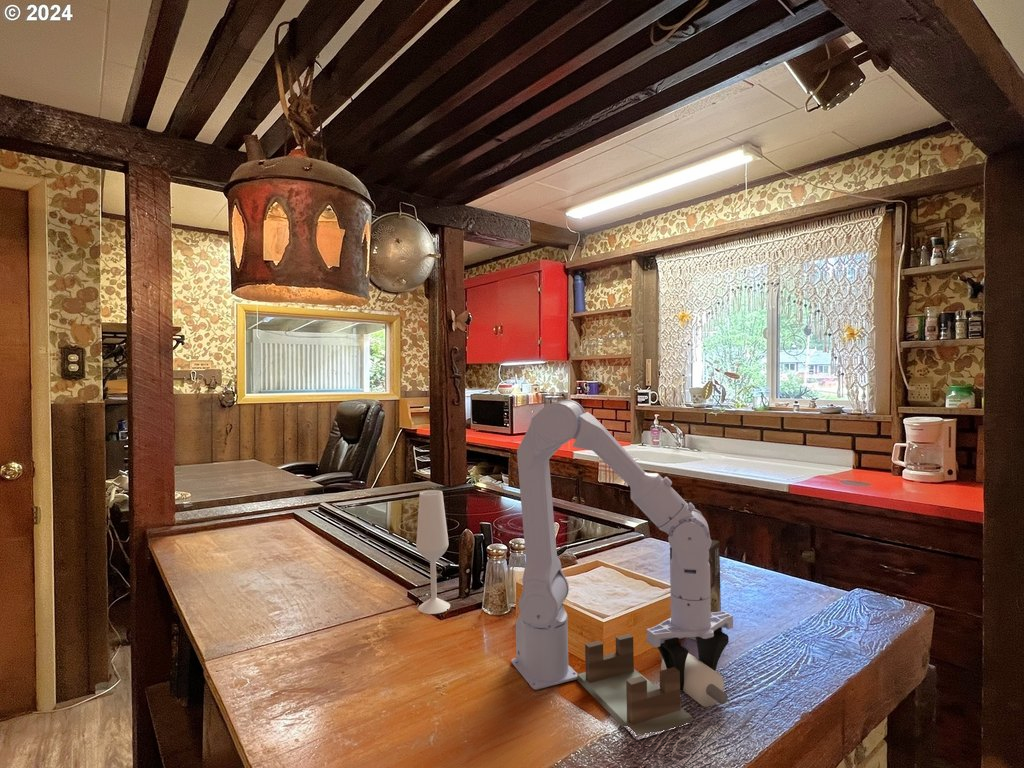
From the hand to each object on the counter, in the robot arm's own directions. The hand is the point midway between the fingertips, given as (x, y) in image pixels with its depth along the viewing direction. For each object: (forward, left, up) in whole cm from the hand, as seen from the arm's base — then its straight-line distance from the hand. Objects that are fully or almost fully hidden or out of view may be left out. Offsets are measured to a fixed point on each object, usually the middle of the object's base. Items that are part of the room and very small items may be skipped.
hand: (691, 682), depth 85 cm
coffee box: (-16, +14, -2) cm, 22 cm away
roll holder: (-2, -10, -1) cm, 10 cm away
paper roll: (0, 0, +1) cm, 1 cm away
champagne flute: (-47, -28, -2) cm, 54 cm away
